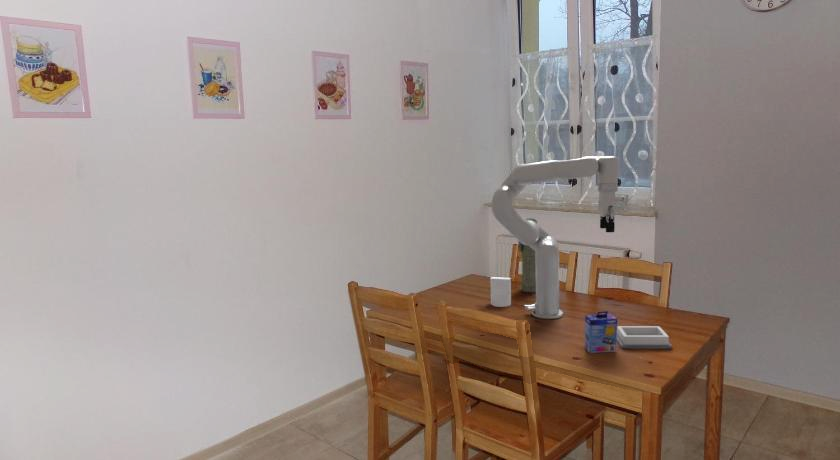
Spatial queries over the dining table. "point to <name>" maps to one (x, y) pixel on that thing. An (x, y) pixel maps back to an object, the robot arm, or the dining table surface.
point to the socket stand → (642, 337)
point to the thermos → (528, 267)
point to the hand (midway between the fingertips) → (607, 230)
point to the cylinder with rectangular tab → (500, 291)
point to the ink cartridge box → (600, 332)
